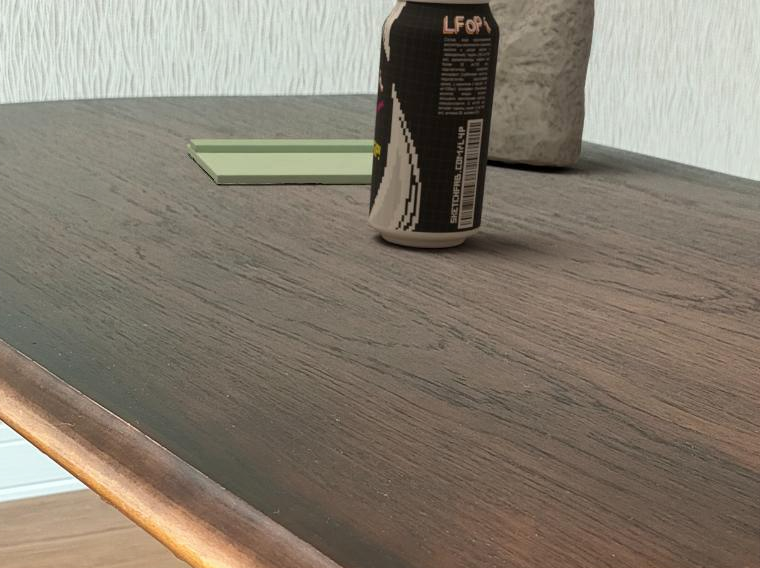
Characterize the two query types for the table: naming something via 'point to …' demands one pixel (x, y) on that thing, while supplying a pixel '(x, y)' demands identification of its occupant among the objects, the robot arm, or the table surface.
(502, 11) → the decorative stone
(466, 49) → the beverage can
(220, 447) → the table surface
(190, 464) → the table surface
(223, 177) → the green tray
